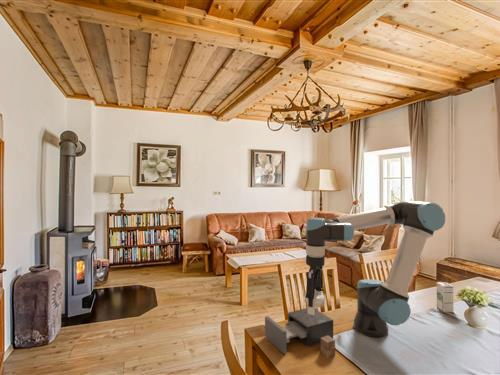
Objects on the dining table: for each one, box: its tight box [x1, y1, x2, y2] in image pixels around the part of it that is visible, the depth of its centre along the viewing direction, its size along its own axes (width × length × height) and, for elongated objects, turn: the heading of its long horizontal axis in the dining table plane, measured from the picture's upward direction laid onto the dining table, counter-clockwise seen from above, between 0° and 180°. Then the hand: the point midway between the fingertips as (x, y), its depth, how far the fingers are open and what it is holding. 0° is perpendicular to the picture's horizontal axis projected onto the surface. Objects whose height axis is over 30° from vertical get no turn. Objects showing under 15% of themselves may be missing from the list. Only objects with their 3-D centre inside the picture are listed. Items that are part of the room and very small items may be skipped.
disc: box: [304, 293, 326, 306], centre depth 116 cm, size 8×8×2 cm
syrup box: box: [436, 281, 455, 313], centre depth 154 cm, size 6×6×14 cm
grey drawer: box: [264, 315, 307, 354], centre depth 123 cm, size 15×15×9 cm
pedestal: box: [320, 336, 336, 358], centre depth 113 cm, size 4×4×6 cm
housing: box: [287, 307, 334, 348], centre depth 128 cm, size 14×15×8 cm
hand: (314, 310), depth 116 cm, fingers closed on disc, 8 cm apart
